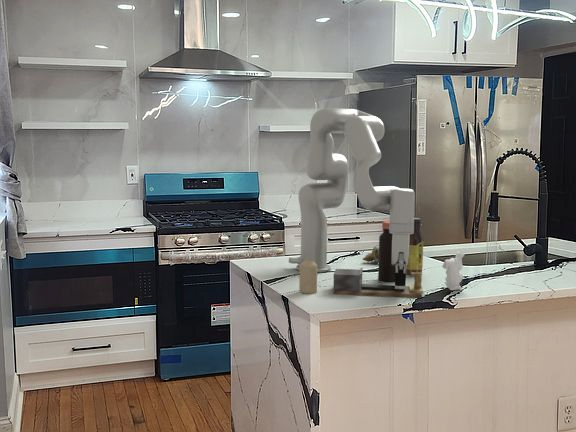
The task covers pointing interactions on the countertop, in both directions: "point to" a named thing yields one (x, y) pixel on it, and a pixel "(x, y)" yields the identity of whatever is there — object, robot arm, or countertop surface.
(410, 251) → the sauce bottle
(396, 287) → the grey block
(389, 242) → the vinegar
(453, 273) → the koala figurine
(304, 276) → the candle
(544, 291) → the countertop surface
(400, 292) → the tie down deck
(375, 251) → the ceramic sculpture
